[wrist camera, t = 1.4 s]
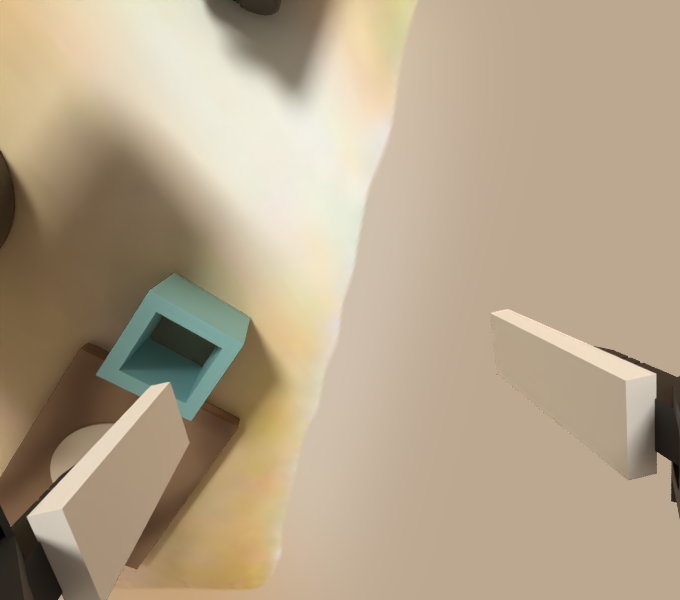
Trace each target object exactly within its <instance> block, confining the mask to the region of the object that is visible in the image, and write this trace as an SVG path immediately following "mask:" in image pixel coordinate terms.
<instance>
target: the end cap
mask: <svg viewBox="0 0 680 600" xmlns="http://www.w3.org/2000/svg"><path fill="white" fill-rule="evenodd" d="M233 1H235V2H237V3H239V4H240V6H241V8H243V9H246V10H248V11H251V12H253V13H257V14H261V15H271V14H274V13H276V12H277V11H278V9H279V7H280V3H281V0H233Z"/></svg>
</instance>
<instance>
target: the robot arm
mask: <svg viewBox="0 0 680 600" xmlns="http://www.w3.org/2000/svg"><path fill="white" fill-rule="evenodd" d="M14 202H15V201H14V191H13V185H12V181H11V177H10V174H9V171H8V169H7V166H6V164H5V162H4V160H3V157H2V156H1V154H0V247H1V246H2V244H3V243H4V241H5V239H6V237H7V235H8V233H9V231H10V228H11V225H12V221H13V216H14ZM490 316H491V326H492V335H493V345H494V354H495V364H496V373H497V375H498V376H499V377H501V378H502V379H503V380H504V381H505V382H507V383H508V384H509V385H510V386H512V387H513V388H514V389H515V390H517V391H518V392H519V393H521V394H522V395H523V396H524V397H525V398H527V399H528V400H529V401H530V402H532V403H533V404H534V405H535V406H536V407H538V408H539V409H540V410H541V411H543V412H544V413H545V414H546V415H548V416H549V417H550V418H551V419H553V420H554V421H555V422H556V423H558V424H559V425H560V426H561V427H562V428H564V429H565V430H566V431H567V432H569V433H570V434H571V435H572V436H574V437H575V438H576V439H578V440H579V441H580V442H581V443H582V444H584V445H585V446H586V447H587V448H589V449H590V450H591V451H592V452H593V453H595V454H596V455H597V456H598V457H600V458H601V459H602V460H604V461H605V462H606V463H607V464H608V465H610V466H611V467H612V468H613V469H615V470H616V471H617V472H618V473H620V474H621V475H622V476H623V477H625V478H626V479H627V480H632V479H636V478H640V477H644V476H648V475H652V474H656V473H657V452H658V453H660V454H661V455H663V456H664V457H666V458H667V459H669V460H670V461H672V475H671V477H672V478H671V479H672V480H671V482H672V483H671V501H673V502H677V507H678V512H679V517H680V376H679V377H676V376H673V375H671V374H669V373H666V372H664V371H661V370H659V369H657V368H654V367H652V366H650V365H647V364H645V363H640V361H638V360H635V359H633V358H628V356H626V355H623V354H621V353H619V352H616V351H614V350H610V349H605V348H600V347H596V346H591V345H589V344H587V343H585V342H582V341H580V340H578V339H575V338H573V337H571V336H569V335H566V334H563V333H562V332H559V331H557V330H555V329H552V328H550V327H548V326H545V325H543V324H541V323H539V322H536V321H534V320H532V319H530V318H527V317H525V316H523V315H520V314H518V313H516V312H514V311H511V310H509V309H506V310H501V311H497V312H492V313H490ZM189 443H190V442H189V439H188V436H187V433H186V430H185V427H184V423H183V420H182V417H181V414H180V411H179V408H178V405H177V402H176V398H175V395H174V392H173V389H172V386H171V383H170V382H166V383H162V384H157V385H152V386H150V387H149V388H148V389H147V390H146V391H145V392H144V393H143V394H142V395H141V397H140V398H139V399H138V400H137V401H136V402H135V403H134V404H133V405H132V406H131V407H130V408H129V409H128V410H127V411H126V412H125V413H124V414H123V416H122V417H121V418H120V419H119V420H118V421H117V422H116V423H115V424H114V425H113V426H112V427H111V428H110V429H109V430H108V431H107V432H106V433H105V435H104V436H103V437H102V438H101V439H100V440H99V441H98V442H97V443H96V444H95V445H94V446H93V447H92V448H91V449H90V450H89V451H88V452H87V454H86V455H85V456H84V457H83V458H82V459H81V460H80V461H79V462H78V463H77V464H75V465H74V466H73V467H71V468H70V469H68V470H67V471H66V472H64V473H63V474H62V475H61V476H60V477H59V478H58V479H57V480H56V481H55V482H54V483H53V484H52V485H51V486H50V487H49V490H46V491H45V492H44V493H43V494H42V495H41V496H40V497H39V500H38V501H35V503H34V504H33V505H32V506H31V507H30V508H29V509H28V510H27V511H26V512H25V513H24V514H23V515H22V516H21V517H20V518H19V519H18V520H17V521H16V522H15V523H14V524H13V525H12V526H11V527H10V524H9V522H8V520H7V518H6V516H5V514H4V512H3V509H2V507H1V505H0V600H58V599H59V597H60V596H61V594H62V596H63V598H64V600H107V598H108V596H109V595H110V592H111V591H112V589H113V587H114V585H115V583H116V581H117V579H118V577H119V576H120V574H121V572H122V570H123V568H124V566H125V564H126V562H127V560H128V559H129V557H130V555H131V553H132V551H133V549H134V547H135V545H136V543H137V542H138V540H139V538H140V536H141V534H142V532H143V530H144V528H145V526H146V524H147V523H148V521H149V519H150V517H151V515H152V513H153V511H154V509H155V507H156V506H157V504H158V502H159V500H160V498H161V496H162V494H163V492H164V490H165V488H166V487H167V485H168V483H169V481H170V479H171V477H172V475H173V473H174V471H175V470H176V468H177V466H178V464H179V462H180V460H181V458H182V456H183V454H184V453H185V451H186V449H187V447H188V445H189Z"/></svg>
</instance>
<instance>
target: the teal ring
mask: <svg viewBox="0 0 680 600" xmlns="http://www.w3.org/2000/svg"><path fill="white" fill-rule="evenodd" d="M163 316H165V317H166V318H168V319H170V320H172V321H174V322H175V323H177V324H179V325H181V326H183V327H184V328H186V329H188V330H190V331H192V332H193V333H195V334H197V335H199V336H200V337H202V338H204V339H206V340H208V341H209V342H211V343H213V344H215V345H216V347H215V348H214V350H213V351H212V353H211V354H210V356H209V357H208V359H207V360H206V362H205V363H204V365H203V366H201V365H199V364H197V363H195V362H193V361H191V360H190V359H188V358H186V357H184V356H182V355H180V354H178V353H176V352H175V351H173V350H171V349H169V348H167V347H165V346H163V345H162V344H160V343H158V342H156V341H154V340H152V339H150V338H149V337H150V336H151V334H152V333H153V331H154V329H155V328H156V326H157V325H158V323H159V322H160V320H161V319H162V317H163ZM249 322H250V317H249V316H247V315H245V314H244V313H242V312H240V311H239V310H237V309H235V308H234V307H232V306H230V305H229V304H227V303H225V302H224V301H222V300H220V299H218V298H217V297H215V296H213V295H212V294H210V293H208V292H207V291H205V290H203V289H202V288H200V287H198V286H197V285H195V284H193V283H192V282H190V281H188V280H187V279H185V278H183V277H182V276H180V275H178V274H177V273H173V274H172V275H170V276H169V277H168V278H166V279H165V280H163V281H162V282H160V283H159V284H158V285H156V286H155V287H153V288H152V289H150V290H149V292H148V293H147V295H146V296H145V298H144V300H143V301H142V303H141V304H140V306H139V307H138V309H137V311H136V312H135V314H134V315H133V317H132V318H131V320H130V322H129V323H128V325H127V326H126V328H125V329H124V331H123V333H122V334H121V336H120V337H119V339H118V341H117V342H116V344H115V345H114V347H113V348H112V350H111V352H110V353H109V355H108V356H107V358H106V359H105V361H104V363H103V364H102V366H101V367H100V369H99V370H98V372H97V374H96V375H97V376H99V377H101V378H103V379H105V380H107V381H109V382H111V383H113V384H115V385H117V386H119V387H121V388H123V389H126V390H128V391H130V392H132V393H134V394H136V395H138V396H140V397H141V395H142V394H143V393H144V392H145V391H146V390H147V389H148V388H149V387H150V386H152V385H157V384H162V383H166V382H170V383H171V386H172V389H173V392H174V395H175V398H176V402H177V405H178V408H179V411H180V414H181V417H183V418H185V419H187V420H189V421H191V420H192V419H193V418H194V416H195V415H196V413H197V412H198V410H199V409H200V407H201V406H202V405H203V403H204V402H205V400H206V399H207V397H208V396H209V394H210V393H211V391H212V390H213V389H214V387H215V386H216V384H217V383H218V381H219V380H220V378H221V377H222V376H223V374H224V373H225V371H226V370H227V368H228V367H229V365H230V364H231V362H232V361H233V360H234V358H235V357H236V355H237V354H238V352H239V351H240V349H241V348H242V347H243V345H244V342H245V338H246V334H247V330H248V326H249Z"/></svg>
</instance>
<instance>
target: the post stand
mask: <svg viewBox="0 0 680 600" xmlns="http://www.w3.org/2000/svg"><path fill="white" fill-rule="evenodd" d="M108 355H109V352H107V351H105V350H103V349H101V348H99V347H97V346H95V345H93V344H91V343H87V344H86V345H85V346H83V347H82V348H81V349H80V350H79V352H78V353H77V355H76V357H75V358H74V360H73V361H72V363H71V365H70V366H69V368H68V369H67V371H66V373H65V374H64V376H63V377H62V379H61V381H60V382H59V384H58V386H57V387H56V389H55V390H54V392H53V394H52V395H51V397H50V398H49V400H48V402H47V403H46V405H45V406H44V408H43V410H42V411H41V413H40V414H39V416H38V418H37V419H36V421H35V423H34V424H33V426H32V427H31V429H30V431H29V432H28V434H27V435H26V437H25V439H24V440H23V442H22V443H21V445H20V447H19V448H18V450H17V452H16V453H15V455H14V456H13V458H12V460H11V461H10V463H9V464H8V466H7V468H6V469H5V471H4V472H3V474H2V476H1V477H0V505H1V507H2V509H3V512H4V514H5V516H6V518H7V520H8V522H9V524H10V525H11V526H12V525H13V524H14V523H15V522H16V521H17V520H18V519H19V518H20V517H21V516H22V515H23V514H24V513H25V512H26V511H27V510H28V509H29V508H30V507H31V506H32V505H33V504H34V503H35V501H38V500H39V497H40V496H41V495H42V494H43V493H44V492H45V491H46V490H49V487H50V486H51V485H52V484H53V483H54V482H55V481H56V480H57V479H58V478H59V477H60V476H61V475H62V474H63V473H64V472H66V471H67V470H68V469H70V468H71V467H73V466H74V465H75V464H77V463H78V462H79V461H80V460H81V459H82V458H83V457H84V456H85V455H86V454H87V452H88V451H89V450H90V449H91V448H92V447H93V446H94V445H95V444H96V443H97V442H98V441H99V440H100V439H101V438H102V437H103V436H104V435H105V433H106V432H107V431H108V430H109V429H110V428H111V427H112V426H113V425H114V424H115V423H116V422H117V421H118V420H119V419H120V418H121V417H122V416H123V414H124V413H125V412H126V411H127V410H128V409H129V408H130V407H131V406H132V405H133V404H134V403H135V402H136V401H137V400H138V399H139V398H140V396H138V395H136V394H134V393H132V392H130V391H128V390H126V389H123V388H121V387H119V386H117V385H115V384H113V383H111V382H109V381H107V380H105V379H103V378H101V377H99V376H97V375H96V374H97V372H98V370H99V369H100V367H101V366H102V364H103V363H104V361H105V359H106V358H107V356H108ZM182 420H183V423H184V427H185V430H186V433H187V436H188V439H189V442H190V443H189V445H188V447H187V449H186V451H185V453H184V454H183V456H182V458H181V460H180V462H179V464H178V466H177V468H176V470H175V471H174V473H173V475H172V477H171V479H170V481H169V483H168V485H167V487H166V488H165V490H164V492H163V494H162V496H161V498H160V500H159V502H158V504H157V506H156V507H155V509H154V511H153V513H152V515H151V517H150V519H149V521H148V523H147V524H146V526H145V528H144V530H143V532H142V534H141V536H140V538H139V540H138V542H137V543H136V545H135V547H134V549H133V551H132V553H131V555H130V557H129V559H128V560H127V562H126V564H125V565H126V566H129V567H132V568H135V569H137V568H138V567H139V566H140V564H141V563H142V561H143V560H144V559H145V557H146V556H147V554H148V553H149V552H150V550H151V549H152V547H153V546H154V545H155V543H156V542H157V540H158V539H159V538H160V536H161V535H162V533H163V532H164V531H165V529H166V528H167V526H168V525H169V524H170V522H171V521H172V519H173V518H174V517H175V515H176V514H177V512H178V511H179V509H180V508H181V507H182V505H183V504H184V502H185V501H186V500H187V498H188V497H189V495H190V494H191V493H192V491H193V490H194V488H195V487H196V486H197V484H198V483H199V481H200V480H201V479H202V477H203V476H204V474H205V473H206V472H207V470H208V469H209V467H210V466H211V465H212V463H213V462H214V460H215V459H216V458H217V456H218V455H219V453H220V452H221V450H222V449H223V448H224V446H225V445H226V443H227V442H228V441H229V439H230V438H231V436H232V435H233V434H234V432H235V431H236V429H237V428H238V425H239V418H237V417H235V416H233V415H231V414H229V413H227V412H225V411H223V410H221V409H219V408H217V407H215V406H213V405H211V404H209V403H207V402H204V403H203V405H202V406H201V407H200V409H199V410H198V412H197V413H196V415H195V416H194V418H193V419H192V420H191V421H189V420H187V419H185V418H183V417H182Z"/></svg>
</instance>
